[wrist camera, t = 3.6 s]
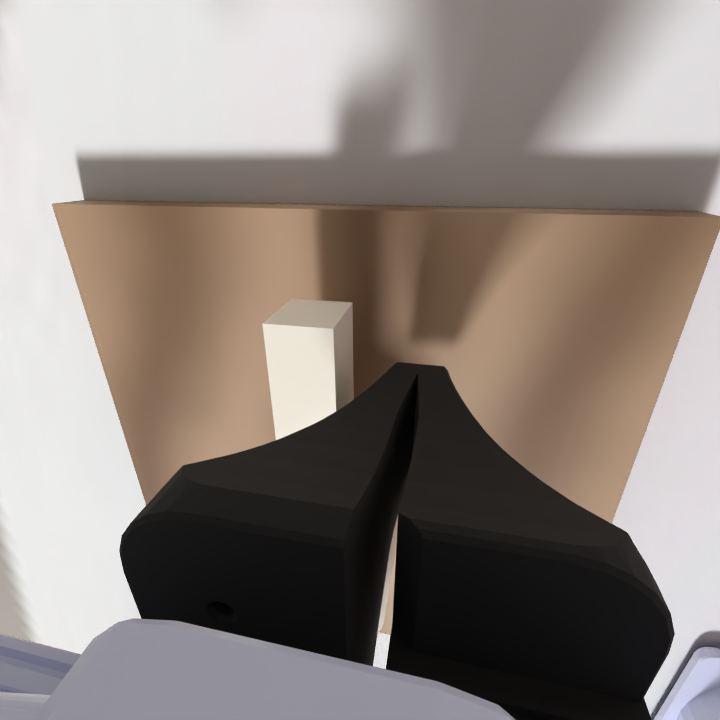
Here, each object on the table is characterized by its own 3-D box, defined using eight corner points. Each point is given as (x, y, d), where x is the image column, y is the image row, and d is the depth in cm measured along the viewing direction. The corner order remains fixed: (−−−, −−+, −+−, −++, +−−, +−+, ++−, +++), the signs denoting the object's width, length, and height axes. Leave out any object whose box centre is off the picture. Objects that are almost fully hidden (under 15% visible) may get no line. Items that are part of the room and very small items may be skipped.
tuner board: (696, 211, 10) (730, 218, 9) (551, 641, 18) (558, 677, 17) (82, 200, 14) (44, 204, 12) (186, 566, 22) (169, 592, 20)
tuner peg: (394, 633, 18) (376, 770, 14) (299, 613, 19) (256, 736, 15) (413, 289, 11) (389, 364, 7) (263, 281, 12) (165, 344, 8)
